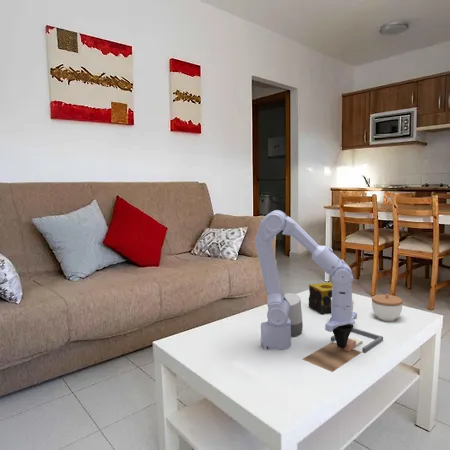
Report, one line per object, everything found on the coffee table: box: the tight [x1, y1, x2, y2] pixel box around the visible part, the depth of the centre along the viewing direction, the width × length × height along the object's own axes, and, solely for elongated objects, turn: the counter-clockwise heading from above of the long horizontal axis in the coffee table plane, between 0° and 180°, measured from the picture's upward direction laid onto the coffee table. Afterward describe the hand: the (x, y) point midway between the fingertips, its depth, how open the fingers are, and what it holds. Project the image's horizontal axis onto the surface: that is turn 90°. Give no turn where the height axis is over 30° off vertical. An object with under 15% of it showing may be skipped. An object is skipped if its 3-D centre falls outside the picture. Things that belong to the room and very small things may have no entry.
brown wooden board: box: [302, 341, 363, 373], centre depth 106 cm, size 16×10×2 cm, turn 131°
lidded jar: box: [371, 293, 404, 322], centre depth 137 cm, size 11×11×9 cm
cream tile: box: [348, 336, 363, 348], centre depth 114 cm, size 4×4×2 cm
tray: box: [330, 327, 384, 354], centre depth 116 cm, size 12×12×3 cm
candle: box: [308, 281, 333, 315], centre depth 149 cm, size 10×10×10 cm
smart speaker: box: [284, 292, 304, 338], centre depth 124 cm, size 10×9×14 cm
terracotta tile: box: [341, 337, 357, 351], centre depth 111 cm, size 4×4×2 cm
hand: (341, 347), depth 110 cm, fingers closed
